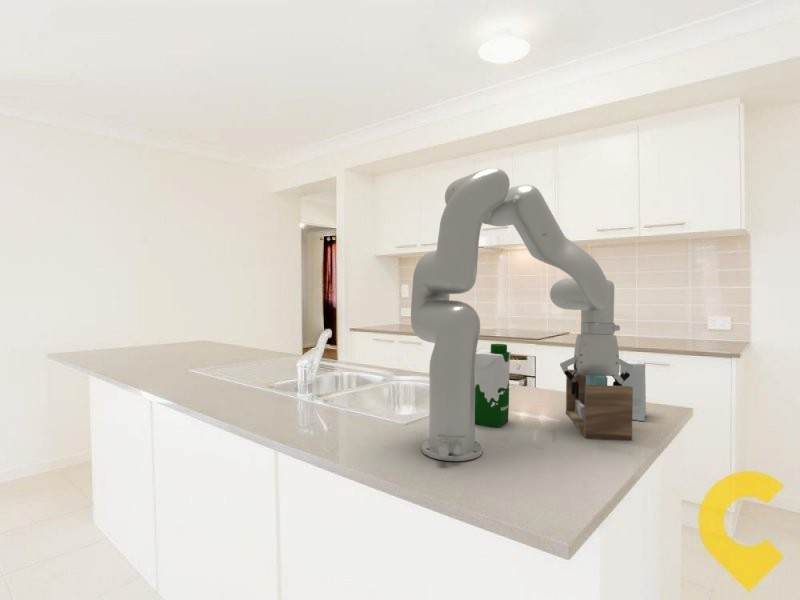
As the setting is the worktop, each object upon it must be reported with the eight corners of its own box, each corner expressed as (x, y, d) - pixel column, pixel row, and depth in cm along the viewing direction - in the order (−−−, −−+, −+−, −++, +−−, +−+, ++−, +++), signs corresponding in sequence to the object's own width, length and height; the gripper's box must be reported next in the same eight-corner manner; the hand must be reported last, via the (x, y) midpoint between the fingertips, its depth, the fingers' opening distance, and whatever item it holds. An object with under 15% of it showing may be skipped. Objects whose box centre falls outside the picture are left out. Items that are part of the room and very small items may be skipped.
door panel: (606, 427, 114) (607, 377, 114) (595, 427, 115) (596, 377, 114) (595, 416, 124) (596, 370, 124) (585, 415, 125) (585, 369, 124)
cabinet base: (631, 440, 108) (632, 387, 108) (585, 438, 109) (586, 386, 109) (604, 414, 130) (604, 370, 129) (565, 413, 131) (566, 369, 131)
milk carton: (501, 429, 116) (502, 347, 115) (466, 423, 121) (467, 344, 120) (512, 420, 124) (513, 343, 123) (479, 415, 128) (480, 341, 128)
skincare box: (644, 422, 123) (645, 364, 122) (619, 418, 126) (620, 362, 125) (645, 414, 130) (646, 359, 130) (621, 411, 133) (622, 358, 132)
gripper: (628, 328, 121) (627, 396, 122) (558, 327, 124) (557, 393, 124) (639, 331, 114) (637, 403, 114) (563, 330, 116) (562, 400, 117)
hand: (595, 398), depth 119 cm, fingers open, 9 cm apart
